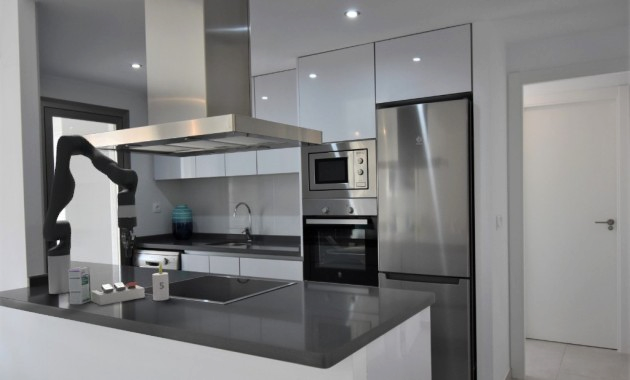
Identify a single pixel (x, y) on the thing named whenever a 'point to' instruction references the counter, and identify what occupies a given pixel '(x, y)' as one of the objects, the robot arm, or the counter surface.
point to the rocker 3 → (131, 284)
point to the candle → (160, 285)
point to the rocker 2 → (119, 286)
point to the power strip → (118, 295)
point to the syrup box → (79, 285)
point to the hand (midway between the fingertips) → (128, 257)
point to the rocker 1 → (107, 288)
